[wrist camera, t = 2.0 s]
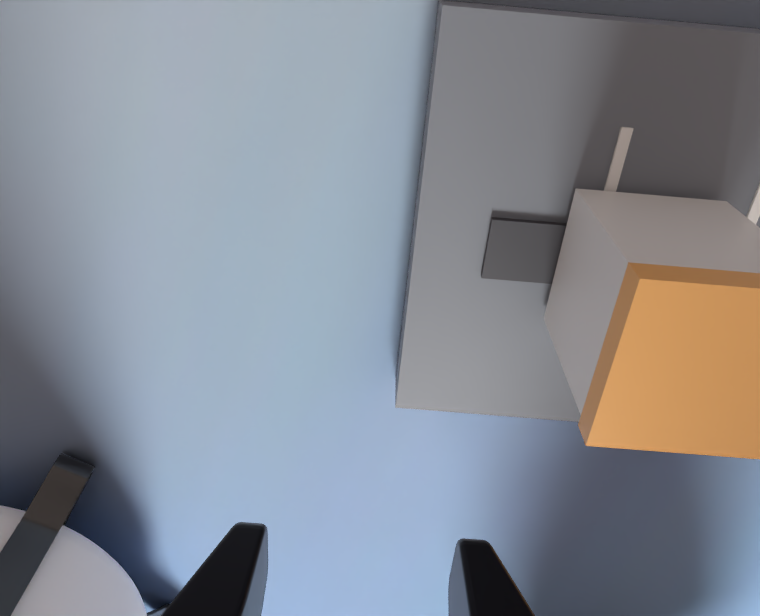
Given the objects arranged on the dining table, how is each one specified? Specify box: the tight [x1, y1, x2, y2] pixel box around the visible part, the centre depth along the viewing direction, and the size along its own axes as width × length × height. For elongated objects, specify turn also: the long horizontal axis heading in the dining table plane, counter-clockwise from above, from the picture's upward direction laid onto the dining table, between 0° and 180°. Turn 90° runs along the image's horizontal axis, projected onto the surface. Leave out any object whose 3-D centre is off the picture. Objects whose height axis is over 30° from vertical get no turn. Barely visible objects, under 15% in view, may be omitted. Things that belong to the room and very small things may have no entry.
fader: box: [544, 188, 760, 459], centre depth 15 cm, size 4×4×5 cm
